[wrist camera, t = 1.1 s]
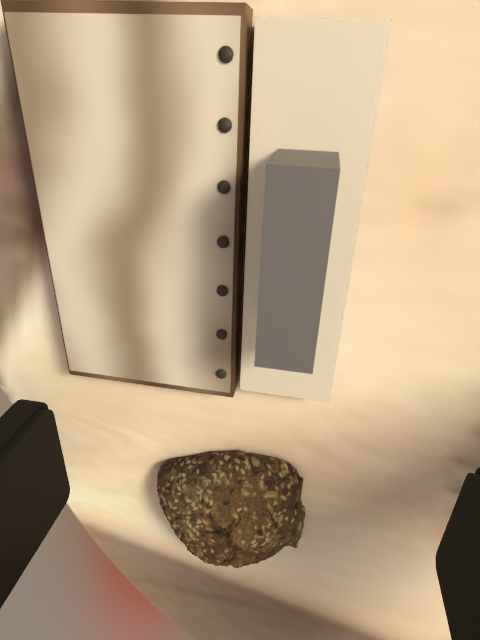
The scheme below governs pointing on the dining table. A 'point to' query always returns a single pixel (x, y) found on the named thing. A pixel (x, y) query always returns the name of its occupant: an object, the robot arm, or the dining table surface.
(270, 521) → the bread roll
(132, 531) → the dining table surface
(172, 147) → the light wooden flat board
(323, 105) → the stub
